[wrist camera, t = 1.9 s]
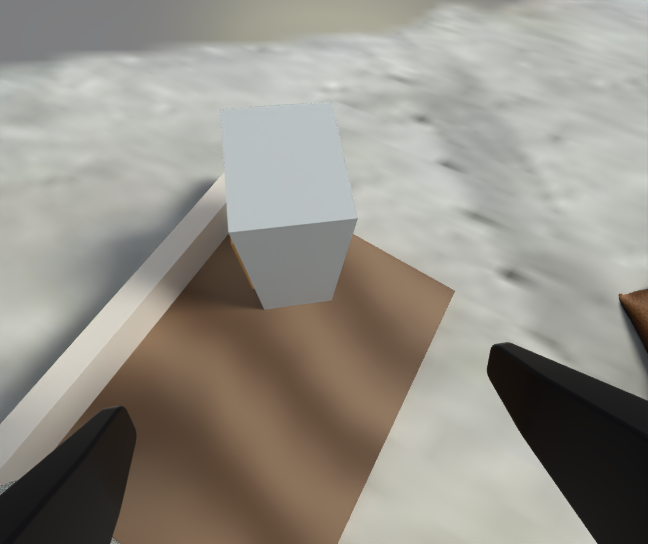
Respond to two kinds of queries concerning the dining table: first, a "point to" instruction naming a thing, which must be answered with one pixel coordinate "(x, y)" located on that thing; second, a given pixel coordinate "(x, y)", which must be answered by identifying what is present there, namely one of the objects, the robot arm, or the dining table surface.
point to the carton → (287, 200)
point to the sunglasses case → (637, 312)
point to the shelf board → (267, 402)
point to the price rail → (110, 338)
